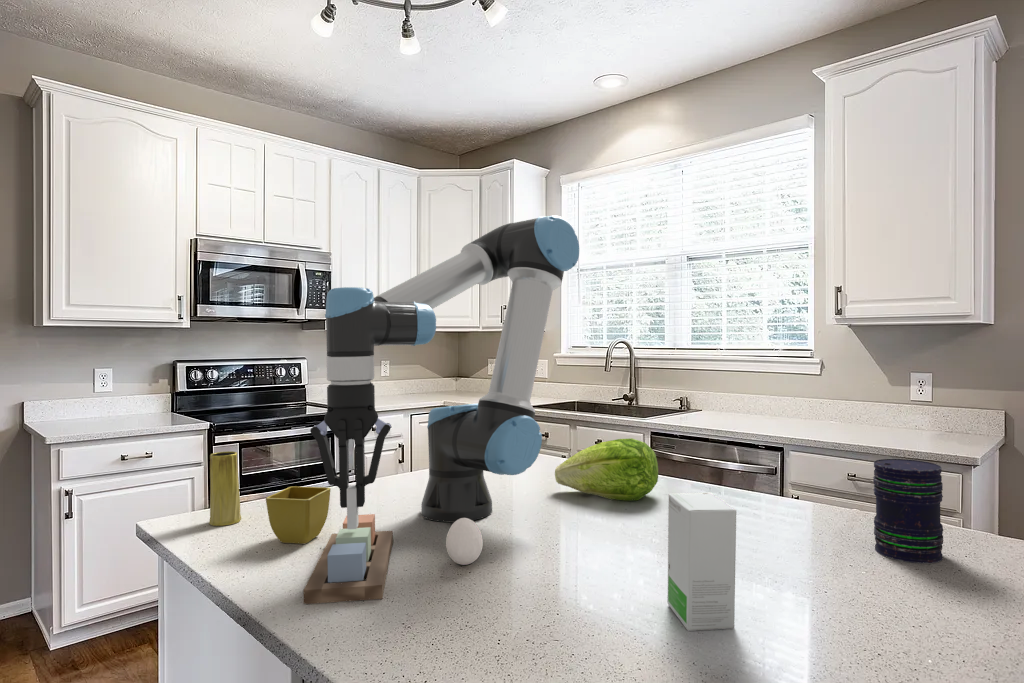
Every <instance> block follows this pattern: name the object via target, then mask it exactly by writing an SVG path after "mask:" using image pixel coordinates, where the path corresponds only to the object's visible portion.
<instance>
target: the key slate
mask: <svg viewBox="0 0 1024 683" xmlns="http://www.w3.org/2000/svg"><path fill="white" fill-rule="evenodd" d="M327 557H328V583H341V582H356V581H364V579H363V578H364V575H365V571H366V543H349V544H333V545H332V547H331V549H330V551H329V553H328V555H327Z"/></svg>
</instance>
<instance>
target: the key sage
mask: <svg viewBox="0 0 1024 683" xmlns="http://www.w3.org/2000/svg"><path fill="white" fill-rule="evenodd" d="M336 534H337V537H336V544H349V543H366V562H369V561H368V560H369V557H370V553H371V527H366V528H357V529H348V530H347V529H343V528H340V529H339V531H338V533H336Z"/></svg>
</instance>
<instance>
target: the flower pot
mask: <svg viewBox="0 0 1024 683" xmlns="http://www.w3.org/2000/svg"><path fill="white" fill-rule="evenodd" d="M330 498H331V487H319V486H315V487H313V486H297V485H295V486H288V487H287V488H284V489H283V490H280V491H278V492H276V493H273V494H272V495H269V496H267V497H265V505H266V510H267V516H268V521H269V524H270V528H271V530H272V532H273V533H274V535H275V537H276V538H277V539H278V540H279V542H280V543H284V544H296V545H297V544H298V545H299V544H301V545H305V544H308V543H309V542H311V541H313V540H314V539H315V538H317V537H318V536H319V535H320V533H321V532H322V530H323V528H324V526H325V523H326V522H327V519H328V514H329V507H330Z"/></svg>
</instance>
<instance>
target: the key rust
mask: <svg viewBox="0 0 1024 683" xmlns="http://www.w3.org/2000/svg"><path fill="white" fill-rule="evenodd" d="M358 519H359V524H358V527H357V528H366V527H371V545H373V543H374V539H375V531H376V513H369V514H358ZM342 529H347V515H346V516H345V518H344V520H343V522H342Z"/></svg>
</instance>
